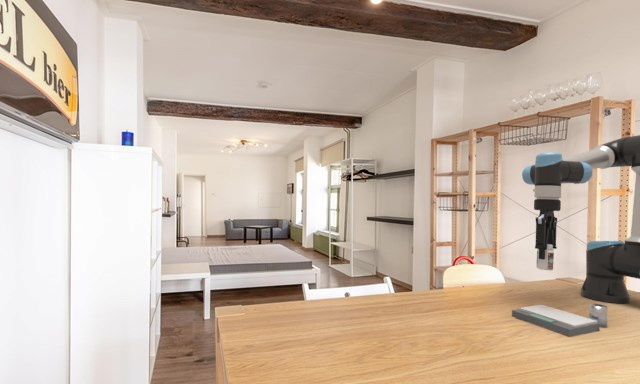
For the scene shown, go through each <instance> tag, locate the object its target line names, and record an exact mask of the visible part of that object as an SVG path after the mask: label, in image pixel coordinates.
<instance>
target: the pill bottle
mask: <svg viewBox="0 0 640 384" xmlns="http://www.w3.org/2000/svg"><path fill="white" fill-rule="evenodd" d="M552 249H553V245H551V244H547V250H548V270H547V271H550V272H551V271H553V270H554V258H555V257H554V255H555V251H552ZM536 250H537V251H536V266H535V267H536V268H537V267H538V249H536ZM540 270H543V271H545V270H544V269H540Z"/></svg>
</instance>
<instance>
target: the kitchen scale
mask: <svg viewBox="0 0 640 384" xmlns="http://www.w3.org/2000/svg"><path fill="white" fill-rule="evenodd" d="M511 316H512V317H513V318H514V319H515V318H516V319H518V320H521V321H524V322H527V323H529V324H533V325H535V326H538V327H541V328H543V327H544V329H547V330H550V331H553V332H554V333H558V334H561V335H563V336H566V337H569V338H570V337H574V336H579V335H585V334H588V333H593V332H598V331H600V327H599V323H598V321H596V320H592V319H589V317H585V316H582V315H578V314H576V313H572V312H569V311H564V310H561V309H558V308H554V307H551V306H547V305H544V304H537V305H531V306H524V307H519V308H517V309H512V310H511Z"/></svg>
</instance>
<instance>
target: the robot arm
mask: <svg viewBox="0 0 640 384" xmlns="http://www.w3.org/2000/svg"><path fill="white" fill-rule="evenodd" d="M616 167H617V168H618V167H619V168H621V167H631V170H632V172H634V173H635V182H634V183H635V184H634V193H633V194H634V195H633V206H632V217H631V228H630V236H629V237H627V238H626V239H624V241H623V240H589V241H588V242H587V245H586V251H585V252H586V257H585V258H586V274H585V275H586V277H585V279H584V282H583V284H582V286H581V288H580V295H581V296H582V297H585V298H587V299H590V300H595V301H599V302H605V303H611V304H629V303H630V299H631V298H630V294H629V292H628V288H627V287H626V284H625V280H624V279H625V277H629V278H632V279H633V278H634V279H639V280H640V134H639V135H638V134H637V135H634V136H633V135H632V136H626V137H621V138H618V139H614V140H612V141H608V142H605V143H603V144H599V145H595V146H593V148H591V149H590V150H587V151H583V152H580V153H577V154H572V155H569V156H566V157H563V155H562V154H561V153H560V152H541V153H538V154H537V155H536V156H535V163H534V164H532V165H528V166H526V167H524V169H523V170H522V173H521V176H522V180H523V182H524V183H525V184H527V185H534V188H533V189H532V192H534V198H535V199H534V200H533V210H535V211H539V215H538V216H537V217H536V216H535V246H534V249H536V250H538V267H536V269H539V270H541V269H544V270H543V271H549V270H548V250H547V244H551V245H553V249H552V251H554V250H556V249H557V224H558V217H556V216H555V212H560V211H561V205H562V201H561V200H560V199H561V198H562V184H574V185H578V184H586V183H587V182H589V181H591V178H592V176H593V170H596V169H599V170H600V169H601V170H604V169H608V168H609V169H610V168H616ZM554 252H555V251H554Z"/></svg>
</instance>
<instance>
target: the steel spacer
mask: <svg viewBox="0 0 640 384" xmlns="http://www.w3.org/2000/svg"><path fill="white" fill-rule="evenodd" d="M588 305H589V306H588V308H589V309H588V311H589V316H588V318H589V319H592V320H596V321H598V323H599V328H608V306H607V305H603V304H599V303H589V304H588Z"/></svg>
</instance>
